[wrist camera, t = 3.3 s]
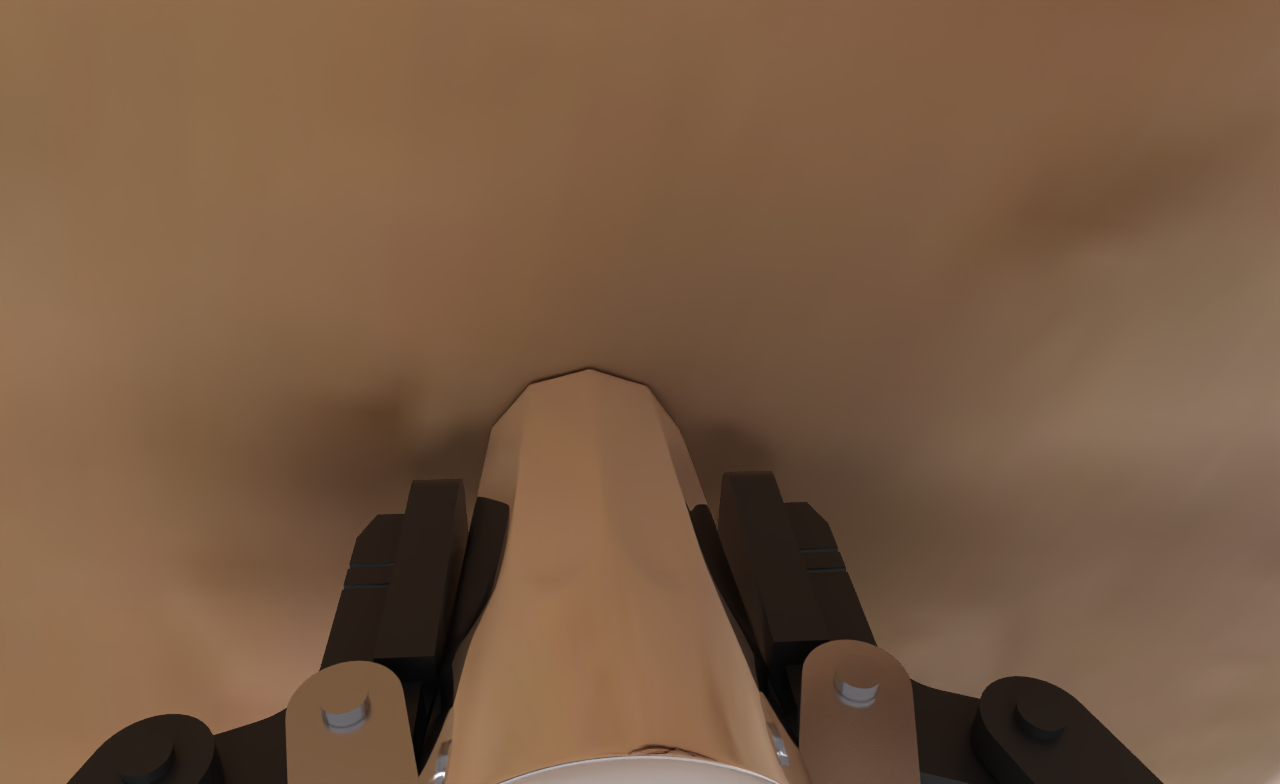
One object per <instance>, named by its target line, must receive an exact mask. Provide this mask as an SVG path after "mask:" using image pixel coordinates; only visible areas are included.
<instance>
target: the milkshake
mask: <svg viewBox="0 0 1280 784" xmlns="http://www.w3.org/2000/svg"><path fill="white" fill-rule="evenodd" d="M416 767H417V773H418V781H417V784H813V782H812V780H811V777H810V775H809V772H808V770H807V768H806V765H805V763H804V760H803V758H802V756H801V753H800V751H799V747H798V741H797V738H796V735H795V733H794V730H793V728H792V726H791V723H790V721H789V718H788V716H787V713H786V711H785V708H784V706H783V703H782V701H781V699H780V696H779V694H778V691H777V689H776V686H775V684H774V681H773V679H772V677H771V674H770V672H769V669H768V667H767V664H766V662H765V659H764V657H763V654H762V652H761V649H760V647H759V644H758V641H757V639H756V636H755V633H754V631H753V628H752V625H751V622H750V619H749V617H748V614H747V611H746V608H745V606H744V603H743V600H742V597H741V595H740V592H739V589H738V586H737V584H736V581H735V578H734V575H733V573H732V570H731V567H730V564H729V562H728V559H727V556H726V553H725V551H724V548H723V545H722V543H721V540H720V537H719V534H718V532H717V529H716V526H715V523H714V521H713V518H712V515H711V513H710V510H709V507H708V504H707V502H706V499H705V496H704V494H703V491H702V488H701V485H700V483H699V480H698V477H697V474H696V472H695V469H694V466H693V464H692V461H691V458H690V455H689V453H688V450H687V447H686V445H685V442H684V439H683V437H682V434H681V432H680V430H679V428H678V427H677V426H676V424H675V423H674V422H673V420H672V419H671V418H670V416H669V415H668V414H667V412H666V411H665V410H664V408H663V407H662V405H661V404H660V403H659V401H658V400H657V399H656V397H655V396H654V395H653V393H652V392H651V390H650V389H649V388H648V387H647V386H645V385H641V384H638V383H634V382H631V381H628V380H624V379H621V378H618V377H615V376H611V375H608V374H605V373H602V372H598V371H595V370H592V369H587V370H583V371H580V372H576V373H572V374H568V375H565V376H561V377H557V378H553V379H549V380H545V381H541V382H537V383H533V384H530V385H529V386H528V387H527V388H526V389H525V391H524V392H523V393H522V394H521V395H520V396H519V398H518V399H517V400H516V401H515V402H514V403H513V404H512V406H511V407H510V408H509V409H508V410H507V411H506V412H505V414H504V415H503V416H502V417H501V418H500V419H499V420H498V421H497V423H496V424H495V425H494V426H493V428H492V430H491V434H490V438H489V443H488V448H487V452H486V457H485V461H484V466H483V471H482V475H481V480H480V484H479V489H478V494H477V498H476V503H475V507H474V512H473V517H472V521H471V526H470V531H469V535H468V540H467V544H466V549H465V554H464V558H463V563H462V568H461V572H460V577H459V581H458V586H457V591H456V595H455V600H454V605H453V609H452V614H451V619H450V623H449V628H448V633H447V637H446V642H445V646H444V651H443V655H442V659H441V663H440V668H439V672H438V676H437V680H436V684H435V688H434V692H433V696H432V700H431V703H430V707H429V711H428V715H427V719H426V723H425V727H424V731H423V735H422V739H421V743H420V747H419V750H418V754H417V758H416Z"/></svg>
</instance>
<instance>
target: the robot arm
mask: <svg viewBox="0 0 1280 784" xmlns="http://www.w3.org/2000/svg"><path fill="white" fill-rule="evenodd" d="M717 532H718V534H719V537H720V540H721V543H722V545H723V548H724V551H725V553H726V556H727V559H728V562H729V564H730V567H731V570H732V573H733V575H734V578H735V581H736V584H737V586H738V589H739V592H740V595H741V597H742V600H743V603H744V606H745V608H746V611H747V614H748V617H749V619H750V622H751V625H752V628H753V631H754V633H755V636H756V639H757V641H758V644H759V647H760V649H761V652H762V654H763V657H764V659H765V662H766V664H767V667H768V669H769V672H770V674H771V677H772V679H773V681H774V684H775V686H776V689H777V691H778V694H779V696H780V699H781V701H782V703H783V706H784V708H785V711H786V713H787V716H788V718H789V721H790V723H791V726H792V728H793V730H794V733H795V735H796V738H797V741H798V747H799V751H800V753H801V756H802V758H803V760H804V763H805V765H806V768H807V770H808V772H809V775H810V777H811V780H812V782H813V784H1163V783H1162V782H1161V781H1160V780H1159V779H1158V778H1157V777H1156V776H1155V775H1154V774H1153V773H1152V772H1151V771H1150V770H1149V769H1148V768H1147V767H1146V766H1145V765H1144V764H1143V763H1142V762H1141V761H1140V760H1139V759H1138V758H1137V757H1136V756H1134V755H1133V754H1132V753H1131V752H1130V751H1129V750H1128V749H1127V748H1126V747H1125V746H1124V745H1123V744H1122V743H1121V742H1120V741H1119V740H1118V739H1117V738H1116V737H1115V736H1114V735H1113V734H1112V733H1111V732H1110V731H1109V730H1108V729H1107V728H1106V727H1105V726H1104V725H1103V724H1102V723H1101V722H1100V721H1099V720H1098V719H1096V718H1095V717H1094V716H1093V715H1092V714H1091V713H1090V712H1089V711H1088V710H1087V709H1086V708H1085V707H1084V706H1083V705H1082V704H1081V703H1080V702H1079V701H1078V700H1076V699H1075V698H1074V697H1073V696H1072V695H1070V694H1069V693H1067V692H1066V691H1064V690H1062V689H1061V688H1059V687H1057V686H1055V685H1053V684H1050V683H1048V682H1045V681H1042V680H1039V679H1035V678H1030V677H1021V676H1013V677H1006V678H1002V679H999V680H997V681H995V682H993V683H991V684H990V685H989V686H988V687H987V688H986V689H985V690H984V692H983V693H982V696H981V699H978V698H973V697H969V696H964V695H960V694H955V693H951V692H946V691H942V690H938V689H934V688H930V687H927V686H925V685H922V684H920V683H917V682H915V681H914V680H912V679H910V678H909V676H908V674H907V672H906V670H905V669H904V667H903V666H902V665H901V664H900V663H899V662H898V661H897V660H896V659H895V658H894V657H893V656H892V655H890V654H889V653H887V652H886V651H884V650H883V649H881V648H878V646H877V644H876V642H875V640H874V637H873V635H872V632H871V630H870V627H869V625H868V622H867V620H866V617H865V615H864V612H863V610H862V607H861V604H860V602H859V599H858V597H857V594H856V592H855V589H854V587H853V584H852V582H851V579H850V577H849V574H848V572H846V567H845V564H844V562H843V559H842V557H841V554H840V552H838V547H837V544H836V542H835V539H834V537H833V534H832V532H831V529H830V527H829V524H828V523H827V522H826V521H825V520H824V519H823V518H822V517H821V516H820V515H819V514H818V513H817V512H816V511H815V510H814V509H813V508H812V507H811V506H810V505H809V504H808V503H807V502H795V503H783V500H782V497H781V494H780V491H779V488H778V485H777V483H776V480H775V477H774V474H773V473H772V472H771V471H753V472H725V473H724V475H723V478H722V486H721V497H720V508H719V520H718V531H717ZM467 540H468V525H467V514H466V504H465V493H464V485H463V481H462V479H445V480H414V481H413V482H412V485H411V489H410V493H409V498H408V502H407V507H406V511H405V514H385V515H377V516H376V517H375V518H374V519H373V520H372V521H371V523H370V524H369V525H368V526H367V527H366V528H365V529H364V530H363V532H362V533H361V534H360V535H359V536H358V537H357V539H356V543H355V546H354V550H353V554H352V557H351V561H350V569H348V571H347V575H346V579H345V582H344V590H342V593H341V596H340V600H339V603H338V607H337V611H336V614H335V618H334V621H333V625H332V628H331V632H330V636H329V639H328V643H327V646H326V650H325V653H324V657H323V660H322V664H321V667H320V670H319V672H317V673H316V674H314V675H312V676H311V677H310V678H308V679H307V680H306V681H305V682H304V683H303V684H302V685H301V686H300V687H299V688H298V689H297V690H296V691H295V693H294V694H293V695H292V697H291V699H290V701H289V703H288V706H287V708H286V709H284V710H282V711H281V712H279V713H277V714H275V715H273V716H271V717H269V718H266V719H264V720H261V721H258V722H255V723H252V724H249V725H245V726H242V727H239V728H236V729H232V730H229V731H226V732H223V733H220V734H216V735H212V733H211V731H210V729H209V728H208V727H207V726H206V725H205V724H204V723H203V722H202V721H200V720H198V719H197V718H194V717H191V716H188V715H181V714H166V715H159V716H154V717H150V718H147V719H144V720H141V721H139V722H136V723H134V724H132V725H130V726H128V727H126V728H124V729H122V730H121V731H119V732H118V733H116V734H114V735H113V736H112V737H111V738H109V739H108V740H107V741H106V742H104V743H103V744H102V745H101V746H100V747H99V748H98V749H97V750H96V752H95V753H94V754H93V755H92V756H91V757H90V758H89V759H88V760H87V762H86V763H85V764H84V765H83V766H82V767H81V768H80V769H79V771H78V772H77V773H76V774H75V775H74V776H73V777H72V778H71V779H70V781H69V782H68V783H67V784H417V781H418V773H417V767H416V758H417V754H418V750H419V747H420V743H421V739H422V735H423V731H424V727H425V723H426V719H427V715H428V711H429V707H430V703H431V700H432V696H433V692H434V688H435V684H436V680H437V676H438V672H439V668H440V663H441V659H442V655H443V651H444V646H445V642H446V637H447V633H448V628H449V623H450V619H451V614H452V609H453V605H454V600H455V595H456V591H457V586H458V581H459V577H460V572H461V568H462V563H463V558H464V554H465V549H466V544H467Z"/></svg>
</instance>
